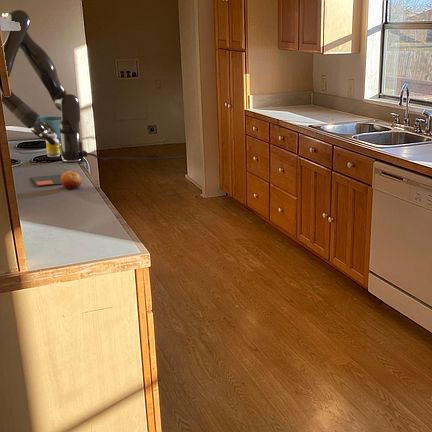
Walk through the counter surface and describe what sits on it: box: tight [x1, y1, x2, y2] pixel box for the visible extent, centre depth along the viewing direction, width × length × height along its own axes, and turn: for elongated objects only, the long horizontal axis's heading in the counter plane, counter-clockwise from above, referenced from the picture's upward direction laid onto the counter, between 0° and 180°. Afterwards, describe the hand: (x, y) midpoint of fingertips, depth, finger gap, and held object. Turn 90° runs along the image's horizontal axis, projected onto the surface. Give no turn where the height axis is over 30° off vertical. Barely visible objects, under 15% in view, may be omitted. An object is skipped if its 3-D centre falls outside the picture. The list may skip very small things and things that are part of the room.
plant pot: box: [40, 115, 62, 139], centre depth 336 cm, size 18×18×12 cm
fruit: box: [61, 170, 82, 190], centre depth 236 cm, size 8×8×8 cm
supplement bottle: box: [45, 134, 61, 158], centre depth 256 cm, size 5×5×10 cm
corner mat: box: [31, 174, 62, 188], centre depth 247 cm, size 16×16×1 cm
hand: (56, 142), depth 256 cm, fingers closed on supplement bottle, 5 cm apart
